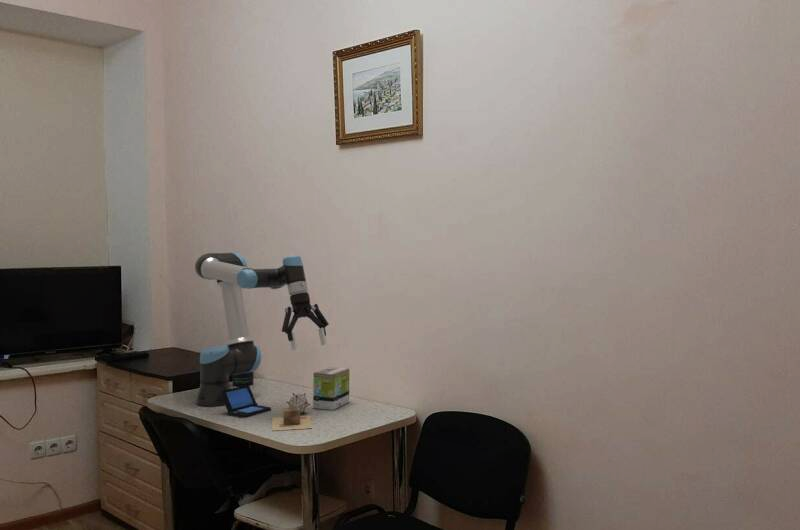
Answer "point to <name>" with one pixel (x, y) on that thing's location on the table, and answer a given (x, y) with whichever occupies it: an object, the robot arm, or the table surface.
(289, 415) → the walnut block
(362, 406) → the table surface
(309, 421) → the envelope
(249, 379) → the storage jar
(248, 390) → the handheld game console
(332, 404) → the tea box
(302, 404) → the grey spiky ornament
